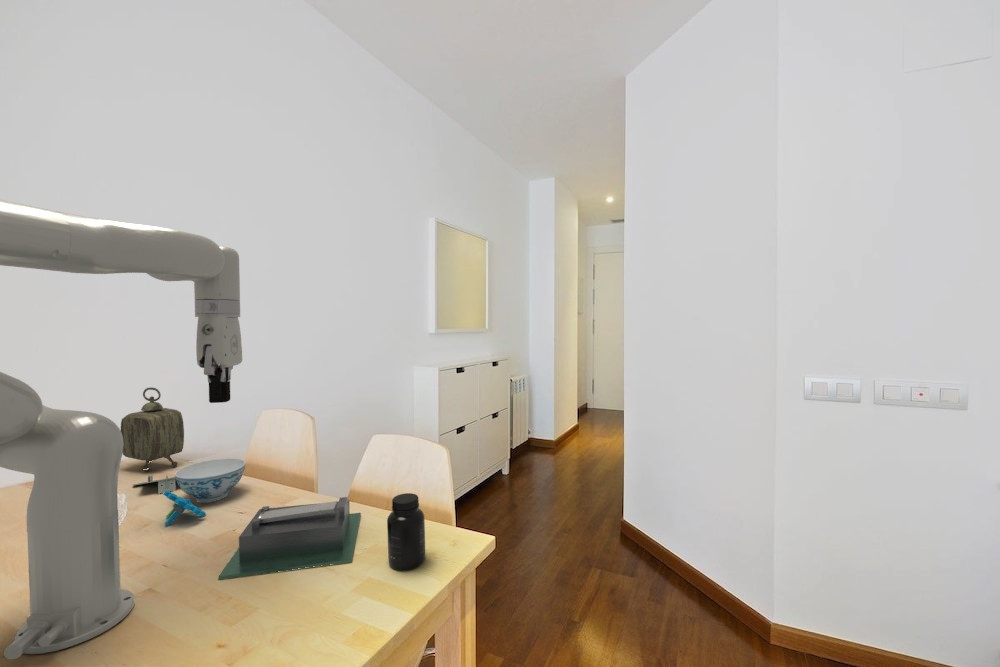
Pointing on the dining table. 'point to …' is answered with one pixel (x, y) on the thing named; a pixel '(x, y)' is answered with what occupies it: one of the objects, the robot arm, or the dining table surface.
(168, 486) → the metal bracket
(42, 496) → the robot arm
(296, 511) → the steel strap
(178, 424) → the tabletop clock
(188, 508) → the gear
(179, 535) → the dining table surface
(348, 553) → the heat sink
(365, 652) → the dining table surface
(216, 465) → the chinaware
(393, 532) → the supplement bottle
